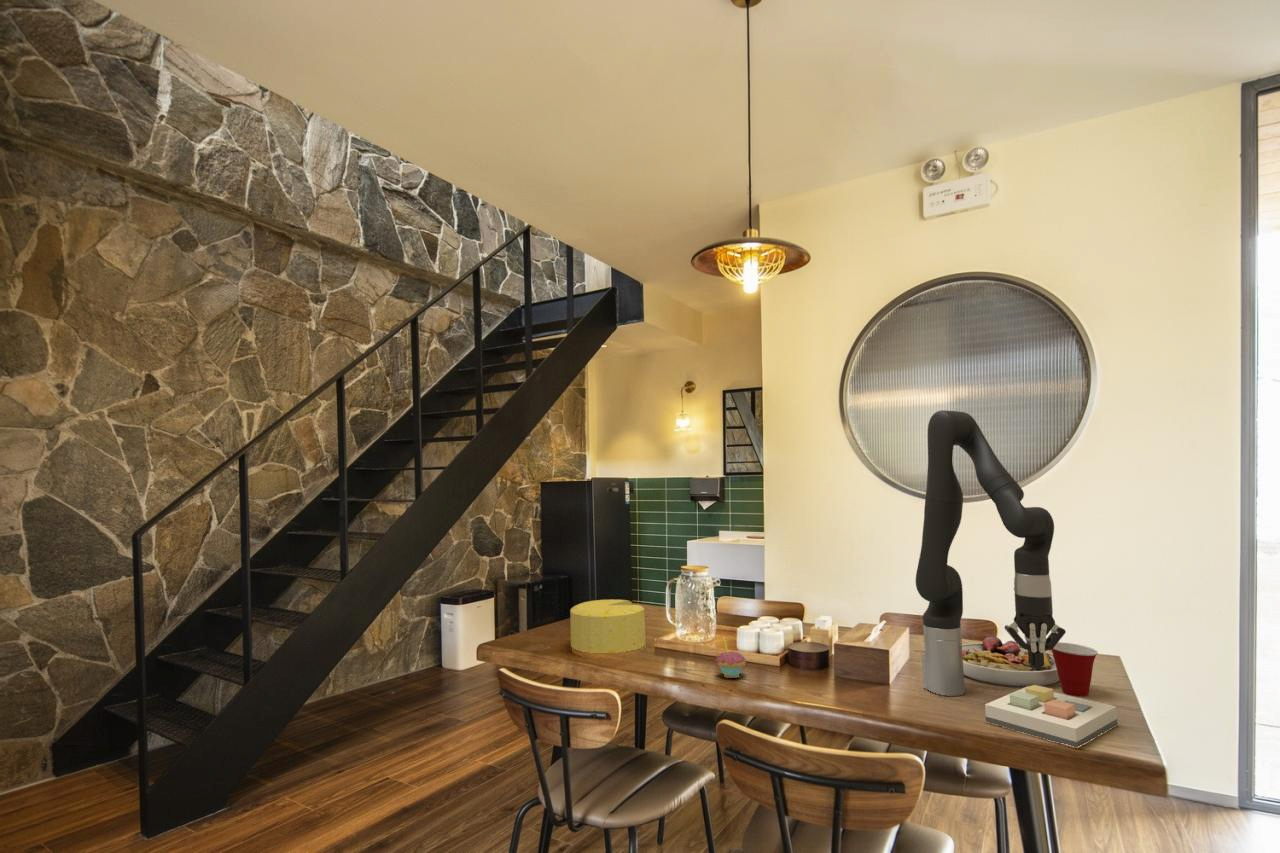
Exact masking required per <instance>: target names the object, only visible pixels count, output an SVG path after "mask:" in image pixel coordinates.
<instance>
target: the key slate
mask: <svg viewBox="0 0 1280 853" xmlns="http://www.w3.org/2000/svg"><path fill="white" fill-rule="evenodd" d="M1066 703H1070V704H1074V705H1075V711H1079V712H1085V711H1087V710H1089V709H1090V706H1086V705H1082V704H1078V703H1073V702H1069V701H1068V702H1066Z"/></svg>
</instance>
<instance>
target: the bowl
mask: <svg viewBox="0 0 1280 853" xmlns="http://www.w3.org/2000/svg"><path fill="white" fill-rule="evenodd" d="M962 654H963V670H964V677H965V676H966V677H968V678H971V679H973V680H977V681H980V682H985V683H989V684H994V685H999V686H1001V685H1002V686H1006V687H1007V686H1008V687H1023V688H1025V687H1027V686H1032V685H1037V686H1042V687H1045V686H1048V685H1053V684H1055V683H1058V682H1060V679H1059V677H1058V673H1057V669H1056V664H1055V660H1054V657H1053V653H1052V652H1051V653H1050V652H1048V651H1045V652H1044V666H1042V669H1034V668H1033V667H1032V666H1031V665H1030V664H1029V662H1028V650H1025V649H1023V648H1022V647H1020V646H1019V645H1018V644H1017V643H1016V641H1015V640H1007V641H1006V642H1005V643H1003V642H1002V640H1001V639H1000V638H999V637H997V636H995V635H994V636H993V635H991V636H987V637H985V638H984V639H983V640H982V642H981V643H966V644H962Z"/></svg>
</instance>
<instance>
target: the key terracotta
mask: <svg viewBox="0 0 1280 853" xmlns="http://www.w3.org/2000/svg"><path fill="white" fill-rule="evenodd" d="M1044 707H1045V714H1046V715H1050V716H1054V717H1058V718H1061V719H1065V720H1068V719H1070V718H1072V717H1074V716H1076V715H1075V705H1074V704H1070V703H1066V702H1062V701H1058V700H1054V699H1053V700H1051V701H1049V702H1047V703H1044Z"/></svg>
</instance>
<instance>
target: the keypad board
mask: <svg viewBox="0 0 1280 853" xmlns="http://www.w3.org/2000/svg"><path fill="white" fill-rule="evenodd" d="M1027 687H1030V686H1027ZM1027 687H1023V688H1020V689H1018V690H1016V691H1013V692H1011V693H1008V694H1007V695H1004V696H1002V697H1001V696H1000V697H999V698H997V699H995V700H992V701H990V702H988V703H985V704H984V708H985V711H984V712H985V713H984V714H985V722H986V721H987V722H990V723H994V724H998V725H1001V726H1004V727H1007V728H1010V729H1014V730H1017V731H1020V732H1024V733H1027V734H1030V735H1034V736H1038V737H1041V738H1045V739H1048V740H1051V741H1055V742H1059V743H1064V744H1068V745H1071V746H1074V747H1078V746H1080V745H1082V744H1084V743H1086V742H1088V741H1090V740H1091V739H1093V738H1095V737H1097V736H1098V735H1100V734H1101V733H1104V732H1105V731H1107V730H1109V729H1110V728H1112V727H1114V726H1116V725H1118V716H1117V706H1115V705H1111V704H1107V703H1102V702H1098V701H1093V700H1089V699H1085V698H1081V697H1078V696H1072V695H1068V694H1065V693H1060V692H1055V691H1054V700H1058V701H1062V702H1068V701H1069V702H1073V703H1078V704H1082V705H1086V706H1090V709H1089V710H1087V711H1085V712H1079V711H1075V715H1076V716H1074V717H1072V718H1070V719H1068V720H1065V719H1061V718H1058V717H1054V716H1050V715H1046V714H1045V707H1044V703H1043V702H1039V707H1037V708H1035V709H1033V710H1027V709H1023V708H1019V707H1015V706H1012V705H1010V695H1011V694H1013V693H1016V692H1018V691H1021V692H1025V688H1027ZM1116 727H1117V726H1116ZM1114 728H1115V727H1114ZM1109 731H1110V730H1109ZM1104 734H1105V733H1104ZM1097 738H1098V737H1097Z"/></svg>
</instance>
